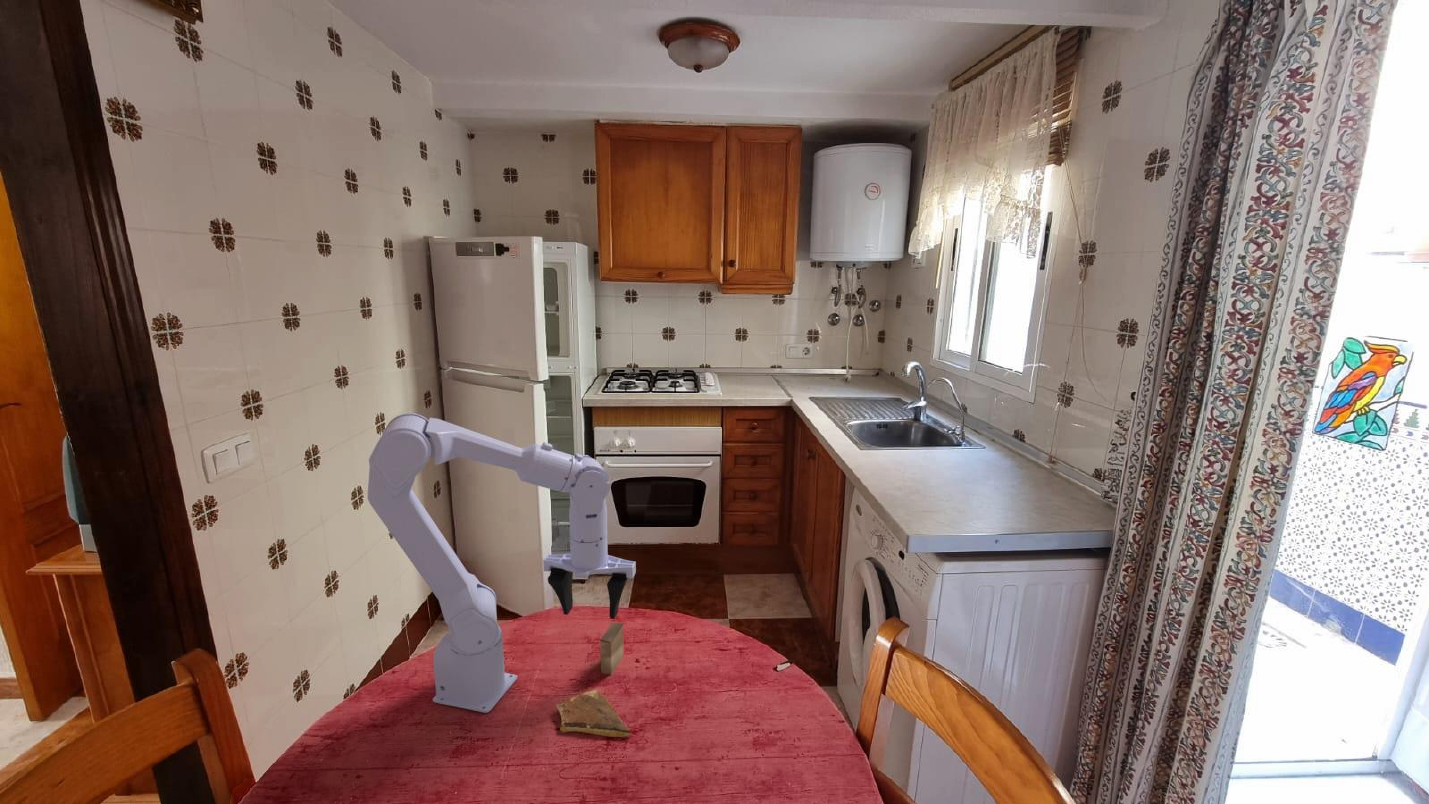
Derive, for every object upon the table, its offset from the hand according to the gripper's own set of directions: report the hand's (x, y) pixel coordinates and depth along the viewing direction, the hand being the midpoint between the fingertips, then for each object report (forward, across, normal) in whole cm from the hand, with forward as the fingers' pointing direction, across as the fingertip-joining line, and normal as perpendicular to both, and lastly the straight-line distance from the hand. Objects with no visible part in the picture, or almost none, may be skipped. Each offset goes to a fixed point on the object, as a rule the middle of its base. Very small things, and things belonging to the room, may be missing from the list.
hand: (590, 613), depth 92 cm
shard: (+10, +4, -10) cm, 15 cm away
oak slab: (+10, +3, +1) cm, 10 cm away
